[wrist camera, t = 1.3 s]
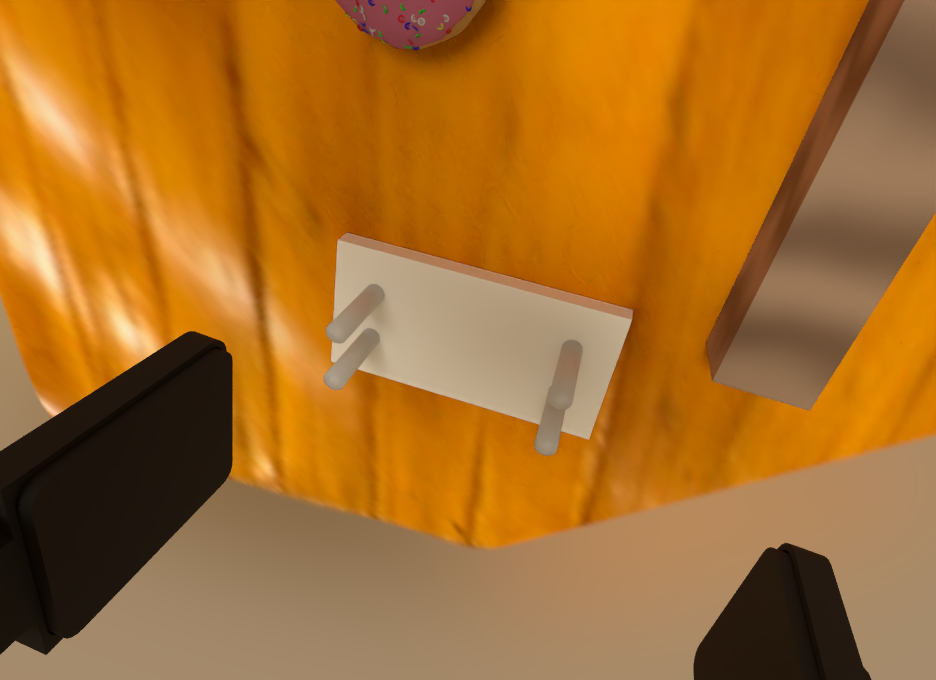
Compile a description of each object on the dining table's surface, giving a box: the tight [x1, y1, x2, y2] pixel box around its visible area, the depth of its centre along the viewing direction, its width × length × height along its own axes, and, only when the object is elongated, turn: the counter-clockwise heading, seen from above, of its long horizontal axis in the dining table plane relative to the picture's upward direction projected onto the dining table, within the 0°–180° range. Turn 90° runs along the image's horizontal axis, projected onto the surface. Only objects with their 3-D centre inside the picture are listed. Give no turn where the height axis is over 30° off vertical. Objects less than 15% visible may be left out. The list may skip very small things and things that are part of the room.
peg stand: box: [324, 233, 633, 456], centre depth 39 cm, size 20×10×8 cm, turn 81°
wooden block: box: [706, 0, 936, 411], centre depth 31 cm, size 20×6×5 cm, turn 169°
